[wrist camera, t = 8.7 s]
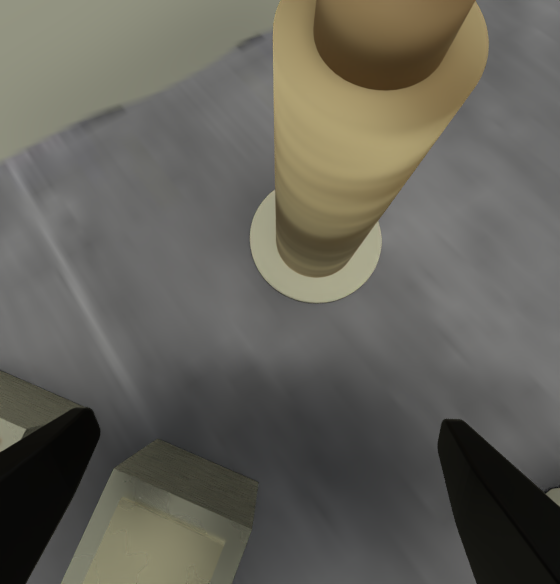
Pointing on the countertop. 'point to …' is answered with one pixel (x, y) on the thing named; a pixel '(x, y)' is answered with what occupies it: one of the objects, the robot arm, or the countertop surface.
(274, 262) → the coaster
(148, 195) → the countertop surface
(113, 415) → the countertop surface
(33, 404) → the spice tin
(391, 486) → the countertop surface
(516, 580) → the robot arm
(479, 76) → the pepper mill
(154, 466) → the spice tin
